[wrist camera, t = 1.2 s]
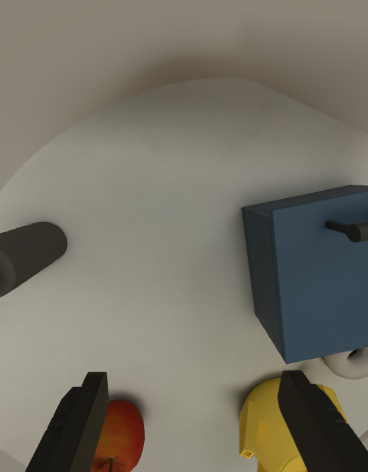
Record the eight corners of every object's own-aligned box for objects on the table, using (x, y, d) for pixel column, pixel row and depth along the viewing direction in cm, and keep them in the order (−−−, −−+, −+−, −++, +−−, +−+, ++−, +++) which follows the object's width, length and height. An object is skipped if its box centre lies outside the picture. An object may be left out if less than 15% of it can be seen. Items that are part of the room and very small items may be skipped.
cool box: (241, 207, 31) (269, 217, 22) (350, 185, 31) (421, 186, 22) (255, 314, 35) (282, 357, 26) (349, 294, 35) (407, 332, 26)
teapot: (309, 355, 38) (370, 432, 26) (329, 418, 42) (388, 508, 31) (222, 388, 39) (243, 476, 27) (249, 446, 43) (277, 544, 31)
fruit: (136, 434, 40) (125, 514, 31) (87, 422, 39) (59, 501, 29) (156, 398, 39) (150, 471, 29) (105, 383, 37) (81, 454, 27)
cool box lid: (268, 209, 22) (298, 218, 16) (422, 177, 22) (500, 176, 16) (282, 358, 26) (308, 401, 21) (408, 332, 26) (465, 368, 21)
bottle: (18, 247, 30) (-124, 309, 16) (35, 213, 29) (-100, 245, 15) (57, 267, 31) (-43, 342, 17) (74, 235, 30) (-15, 285, 16)
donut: (324, 319, 36) (313, 368, 39) (339, 333, 33) (327, 385, 35) (379, 319, 37) (365, 367, 39) (400, 333, 34) (383, 384, 36)
